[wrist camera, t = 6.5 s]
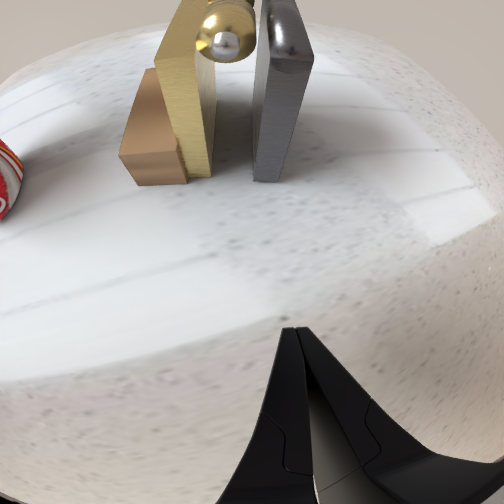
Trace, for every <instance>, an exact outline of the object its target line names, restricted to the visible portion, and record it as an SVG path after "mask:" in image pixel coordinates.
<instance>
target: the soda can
mask: <svg viewBox="0 0 504 504" xmlns="http://www.w3.org/2000/svg"><path fill="white" fill-rule="evenodd" d="M22 176H23V166H22V163H21V161H20V160H19V159H18V157H17V156H16V155H15V154H14V153H13V151H12V150H11V149H10V148H9V147H8V146H7V145H6V144H5V143H4V142H3V141H2V140H1V139H0V220H1V219H2V218H3V217H4V216H5V215H6V213H7V212H8V211H9V210H10V209H11V207H12V206H13V204H14V202H15V200H16V198H17V196H18V193H19V190H20V186H21V182H22Z"/></svg>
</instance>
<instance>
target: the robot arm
mask: <svg viewBox="0 0 504 504" xmlns="http://www.w3.org/2000/svg"><path fill="white" fill-rule="evenodd" d="M313 474H314V479H315V483H316V488H317V492H318V498H319V503H320V504H504V456H502V457H501V458H499V459H498V460H496V461H495V462H493V463H481V462H475V461H469V460H463V459H458V458H453V457H449V456H444V455H440V454H437V453H435V452H433V451H431V450H429V449H428V448H426V447H425V446H423V445H422V444H421V443H420V442H419V441H417V440H416V439H415V438H414V437H413V436H411V435H410V434H409V433H408V432H407V431H405V430H404V429H403V428H402V427H401V426H400V425H398V424H397V423H396V422H395V421H394V420H393V419H392V418H391V417H390V416H389V415H388V414H387V413H386V412H385V411H384V410H383V409H382V408H381V407H380V406H379V405H378V404H377V403H376V402H375V401H374V400H373V399H372V398H371V396H370V395H369V394H368V393H367V392H366V391H365V390H364V389H363V388H362V387H361V385H360V384H359V383H358V382H357V381H356V380H355V379H354V378H353V377H352V375H351V374H350V373H349V372H348V371H347V370H346V369H345V368H344V367H343V366H342V364H341V363H340V362H339V361H338V360H337V359H336V358H335V357H334V356H333V354H332V353H331V352H330V351H329V350H328V349H327V348H326V347H325V346H324V344H323V343H322V342H321V341H320V340H319V339H318V338H317V337H316V335H315V334H314V333H313V332H312V331H311V330H310V329H309V328H308V327H296V328H294V327H286V328H282V331H281V335H280V339H279V343H278V347H277V351H276V355H275V359H274V363H273V367H272V370H271V374H270V378H269V382H268V385H267V389H266V392H265V396H264V400H263V403H262V407H261V410H260V413H259V417H258V420H257V423H256V426H255V429H254V432H253V435H252V438H251V440H250V442H249V444H248V446H247V449H246V451H245V453H244V455H243V457H242V459H241V461H240V462H239V464H238V466H237V468H236V470H235V472H234V474H233V476H232V477H231V479H230V481H229V483H228V485H227V486H226V488H225V490H224V491H223V493H222V495H221V496H220V498H219V499H218V501H217V502H216V504H318V502H317V499H316V495H315V489H314V480H313ZM0 504H27V503H24V502H22V501H19V500H17V499H15V498H12V497H10V496H8V495H6V494H4V493H1V492H0Z"/></svg>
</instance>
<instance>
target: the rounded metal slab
mask: <svg viewBox="0 0 504 504" xmlns="http://www.w3.org/2000/svg"><path fill="white" fill-rule="evenodd" d="M313 62H314V54H313V51H312V48H311V45H310V42H309V39H308V36H307V33H306V30H305V27H304V24H303V21H302V18H301V16H300V13H299V10H298V8H297V5H296V2H295V0H262V9H261V18H260V28H259V38H258V48H257V59H256V69H255V80H254V91H253V102H252V123H253V181H261V182H278V179H279V176H280V173H281V169H282V166H283V163H284V159H285V156H286V153H287V149H288V146H289V143H290V139H291V136H292V133H293V129H294V126H295V123H296V119H297V116H298V113H299V109H300V106H301V103H302V99H303V96H304V93H305V89H306V86H307V83H308V79H309V76H310V73H311V69H312V66H313Z"/></svg>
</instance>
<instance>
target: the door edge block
mask: <svg viewBox="0 0 504 504" xmlns="http://www.w3.org/2000/svg"><path fill="white" fill-rule="evenodd" d="M118 156H119V158H120V159H121V161H122V162H123V164H124V165H125V167H126V168H127V170H128V171H129V173H130V174H131V176H132V177H133V179H134V180H135V182H136V183H137V185H138V186H148V185H171V184H187V178H188V177H187V174H186V171H185V168H184V165H183V161H182V158H181V155H180V152H179V148H178V145H177V142H176V138H175V135H174V132H173V128H172V125H171V121H170V118H169V115H168V111H167V108H166V104H165V100H164V97H163V93H162V90H161V86H160V82H159V79H158V75H157V71H156V68H150V69H146V70H145V73H144V75H143V78H142V81H141V83H140V86H139V89H138V92H137V94H136V97H135V100H134V103H133V106H132V109H131V112H130V115H129V118H128V122H127V125H126V128H125V132H124V135H123V139H122V142H121V146H120V150H119V154H118Z"/></svg>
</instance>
